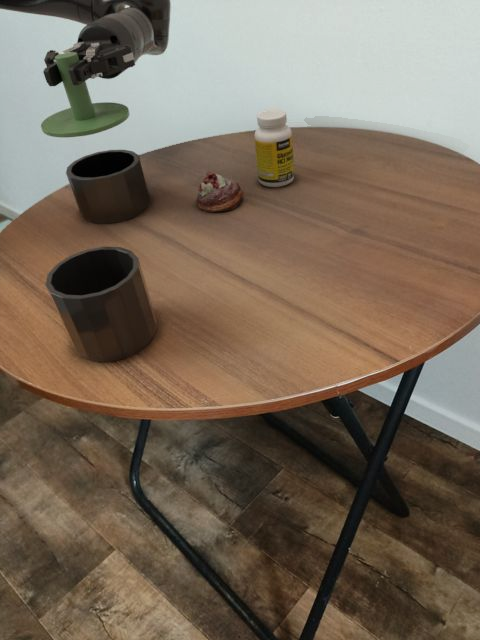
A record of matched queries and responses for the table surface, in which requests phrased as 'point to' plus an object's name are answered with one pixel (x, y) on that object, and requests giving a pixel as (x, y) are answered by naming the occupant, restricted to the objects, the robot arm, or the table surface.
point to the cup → (103, 303)
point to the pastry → (218, 193)
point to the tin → (109, 186)
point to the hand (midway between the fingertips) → (60, 77)
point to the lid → (81, 108)
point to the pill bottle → (274, 149)
